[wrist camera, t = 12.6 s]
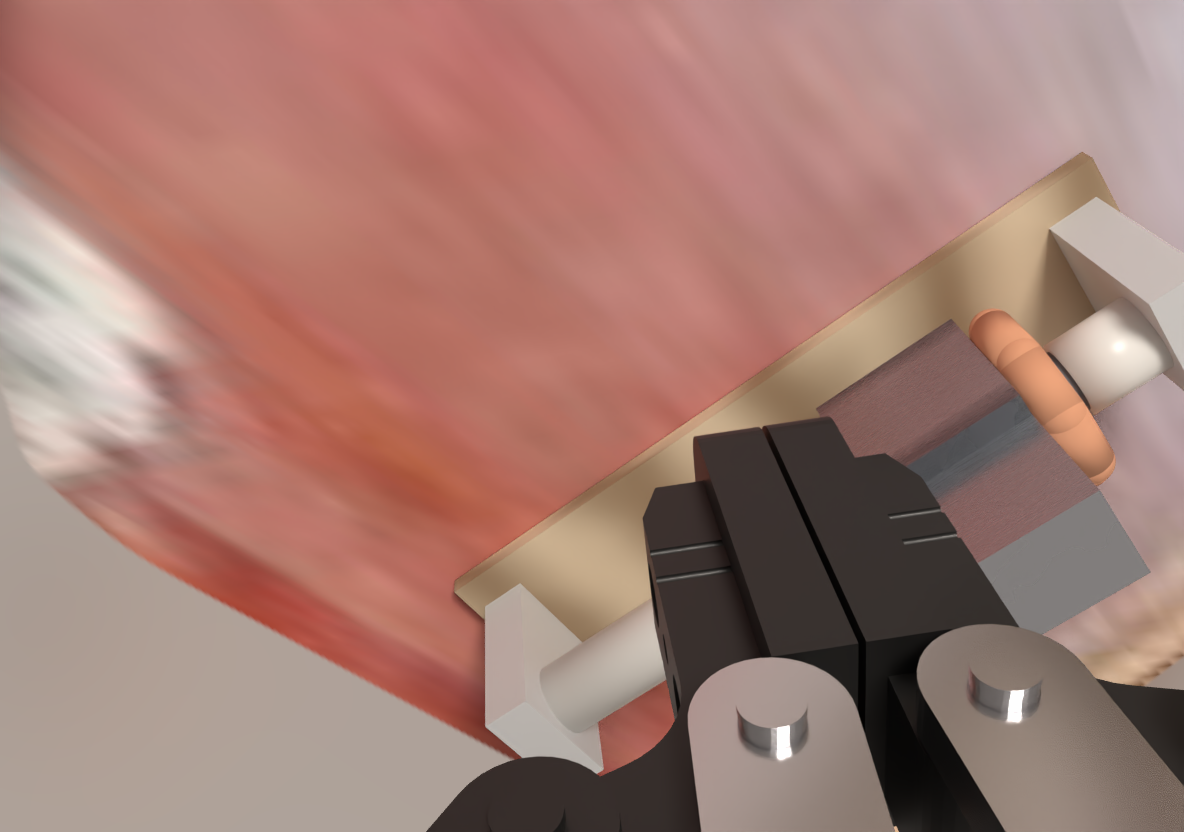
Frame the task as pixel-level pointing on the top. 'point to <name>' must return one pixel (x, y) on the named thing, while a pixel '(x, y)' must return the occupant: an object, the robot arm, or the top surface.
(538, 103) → the top surface
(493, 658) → the rod
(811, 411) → the base board
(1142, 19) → the top surface
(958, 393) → the grooved slider block
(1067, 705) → the robot arm
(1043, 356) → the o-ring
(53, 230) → the top surface
